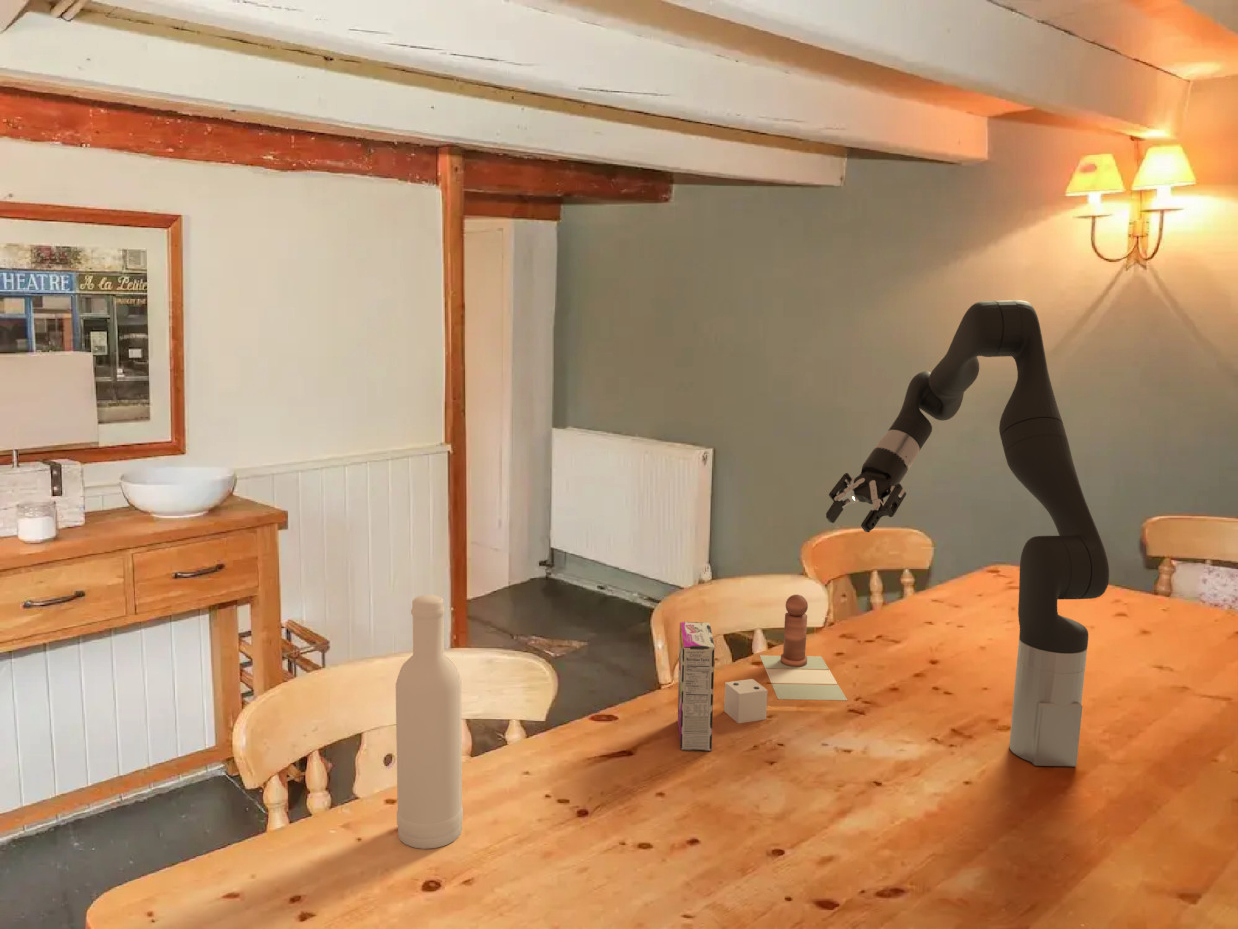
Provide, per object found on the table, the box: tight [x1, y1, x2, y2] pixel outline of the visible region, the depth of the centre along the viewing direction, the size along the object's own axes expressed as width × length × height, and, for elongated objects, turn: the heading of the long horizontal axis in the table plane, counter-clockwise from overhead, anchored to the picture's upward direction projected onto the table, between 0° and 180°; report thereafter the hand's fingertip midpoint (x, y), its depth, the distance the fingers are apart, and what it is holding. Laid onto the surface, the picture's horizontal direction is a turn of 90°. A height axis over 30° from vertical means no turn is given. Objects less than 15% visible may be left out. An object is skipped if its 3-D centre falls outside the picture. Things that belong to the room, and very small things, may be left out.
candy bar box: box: [677, 621, 715, 752], centre depth 149 cm, size 11×5×16 cm, turn 179°
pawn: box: [780, 594, 809, 667], centre depth 179 cm, size 5×5×13 cm
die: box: [723, 678, 769, 724], centre depth 158 cm, size 5×5×5 cm
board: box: [759, 654, 848, 701], centre depth 174 cm, size 22×13×1 cm, turn 0°
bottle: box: [395, 594, 464, 850], centre depth 119 cm, size 8×8×30 cm
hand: (846, 524), depth 182 cm, fingers open, 8 cm apart
